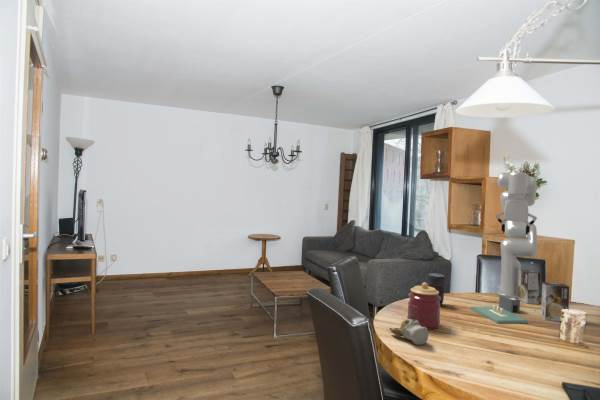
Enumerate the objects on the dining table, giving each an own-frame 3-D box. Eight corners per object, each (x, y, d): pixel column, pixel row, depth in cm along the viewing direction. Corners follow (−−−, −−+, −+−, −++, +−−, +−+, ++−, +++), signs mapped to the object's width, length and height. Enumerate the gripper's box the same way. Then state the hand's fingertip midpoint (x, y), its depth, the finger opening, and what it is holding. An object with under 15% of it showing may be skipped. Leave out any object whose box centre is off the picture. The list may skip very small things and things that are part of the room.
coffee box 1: (539, 304, 197) (541, 273, 197) (526, 303, 197) (528, 272, 197) (529, 299, 206) (530, 269, 206) (517, 298, 206) (518, 269, 206)
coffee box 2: (563, 318, 175) (564, 283, 174) (568, 322, 168) (570, 286, 168) (540, 315, 177) (541, 281, 177) (544, 320, 171) (546, 284, 171)
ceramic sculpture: (413, 323, 133) (388, 313, 147) (412, 349, 133) (387, 336, 147) (437, 321, 137) (411, 311, 151) (437, 346, 136) (410, 333, 150)
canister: (403, 326, 156) (405, 283, 156) (410, 317, 168) (412, 277, 167) (437, 332, 150) (439, 287, 150) (441, 323, 162) (443, 281, 161)
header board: (471, 309, 184) (471, 300, 184) (498, 309, 186) (498, 300, 186) (497, 323, 164) (497, 313, 164) (527, 323, 166) (527, 313, 166)
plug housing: (498, 307, 190) (499, 294, 189) (507, 307, 190) (507, 294, 190) (510, 312, 181) (511, 300, 180) (519, 312, 181) (520, 300, 181)
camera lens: (426, 305, 186) (427, 275, 186) (425, 301, 194) (427, 272, 194) (444, 308, 184) (445, 277, 184) (442, 303, 192) (444, 273, 192)
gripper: (537, 198, 183) (535, 234, 183) (496, 197, 191) (494, 231, 191) (538, 198, 176) (536, 235, 176) (496, 197, 184) (494, 232, 184)
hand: (515, 233), depth 184 cm, fingers open, 9 cm apart
